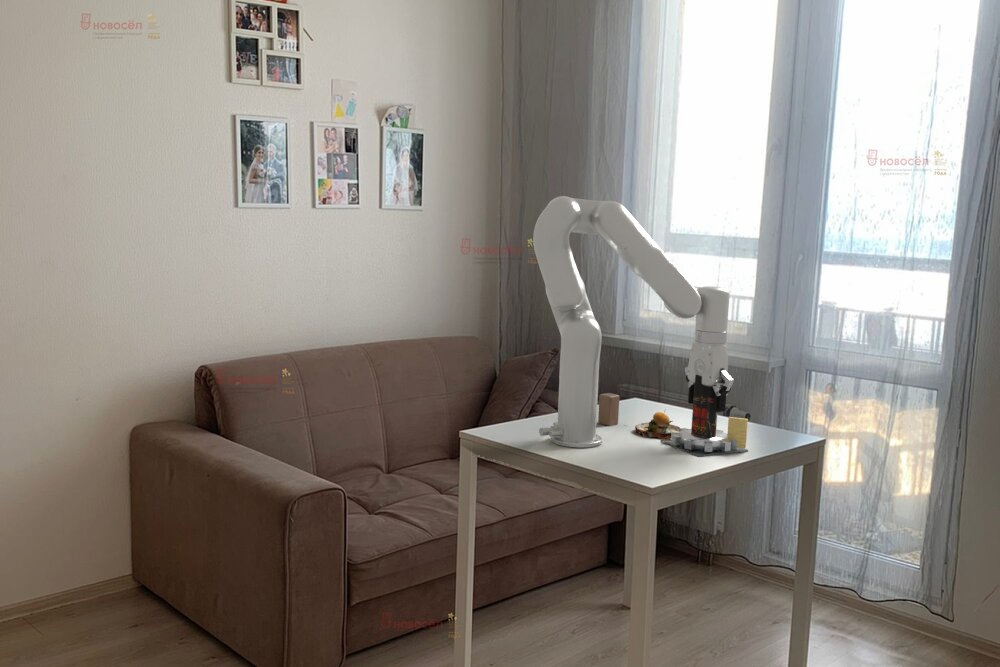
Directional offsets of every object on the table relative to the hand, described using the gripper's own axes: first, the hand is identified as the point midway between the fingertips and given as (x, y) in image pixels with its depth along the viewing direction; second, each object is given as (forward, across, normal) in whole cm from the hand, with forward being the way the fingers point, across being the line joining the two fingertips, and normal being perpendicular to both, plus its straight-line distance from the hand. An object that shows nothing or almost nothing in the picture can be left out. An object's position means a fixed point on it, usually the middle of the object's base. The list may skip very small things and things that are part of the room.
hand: (706, 407), depth 225 cm
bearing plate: (+10, 0, 0) cm, 10 cm away
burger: (+10, -15, -3) cm, 18 cm away
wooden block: (+10, -28, -10) cm, 31 cm away
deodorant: (+7, 0, 0) cm, 7 cm away
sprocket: (+9, +1, +1) cm, 9 cm away
